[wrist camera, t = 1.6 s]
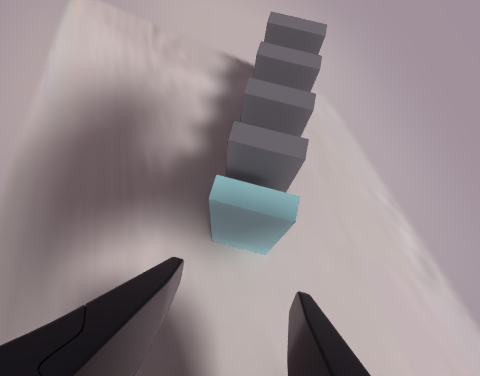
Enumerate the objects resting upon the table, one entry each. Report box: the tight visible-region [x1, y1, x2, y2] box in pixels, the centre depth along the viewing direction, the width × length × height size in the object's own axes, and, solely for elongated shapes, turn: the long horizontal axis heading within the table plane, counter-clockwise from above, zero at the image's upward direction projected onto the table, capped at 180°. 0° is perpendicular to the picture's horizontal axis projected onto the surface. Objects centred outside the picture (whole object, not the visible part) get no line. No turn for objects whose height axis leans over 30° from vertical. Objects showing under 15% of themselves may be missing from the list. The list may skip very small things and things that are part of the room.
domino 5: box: [209, 175, 300, 255], centre depth 19 cm, size 2×5×10 cm, turn 76°
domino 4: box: [226, 121, 309, 193], centre depth 21 cm, size 2×5×10 cm, turn 76°
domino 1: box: [264, 12, 327, 55], centre depth 26 cm, size 2×5×10 cm, turn 77°
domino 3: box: [240, 77, 316, 137], centre depth 22 cm, size 2×5×10 cm, turn 76°
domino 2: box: [253, 42, 322, 92], centre depth 24 cm, size 2×5×10 cm, turn 76°
